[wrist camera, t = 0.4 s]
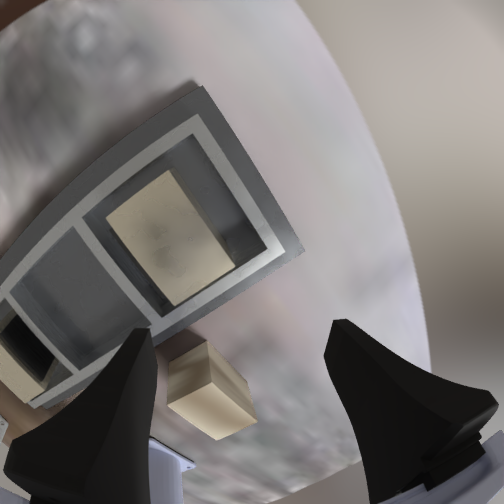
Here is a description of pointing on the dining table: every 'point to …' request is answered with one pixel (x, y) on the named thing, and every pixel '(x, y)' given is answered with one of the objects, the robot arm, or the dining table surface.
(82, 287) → the rail
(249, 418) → the birch block
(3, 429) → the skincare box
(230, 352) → the dining table surface
